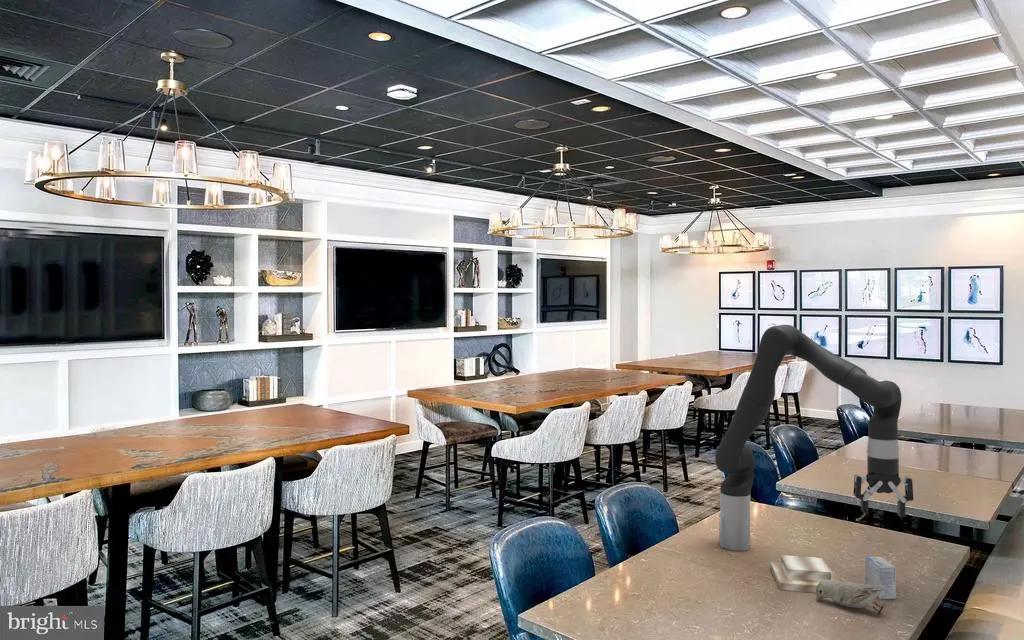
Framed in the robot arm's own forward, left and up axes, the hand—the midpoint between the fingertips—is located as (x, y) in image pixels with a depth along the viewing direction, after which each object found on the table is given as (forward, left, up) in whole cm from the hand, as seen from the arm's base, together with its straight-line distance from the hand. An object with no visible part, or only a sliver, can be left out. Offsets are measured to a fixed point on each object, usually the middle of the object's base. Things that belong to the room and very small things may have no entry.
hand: (883, 514), depth 188 cm
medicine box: (-1, -2, -21) cm, 21 cm away
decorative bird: (-12, -13, -21) cm, 27 cm away
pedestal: (-19, +3, -21) cm, 28 cm away
